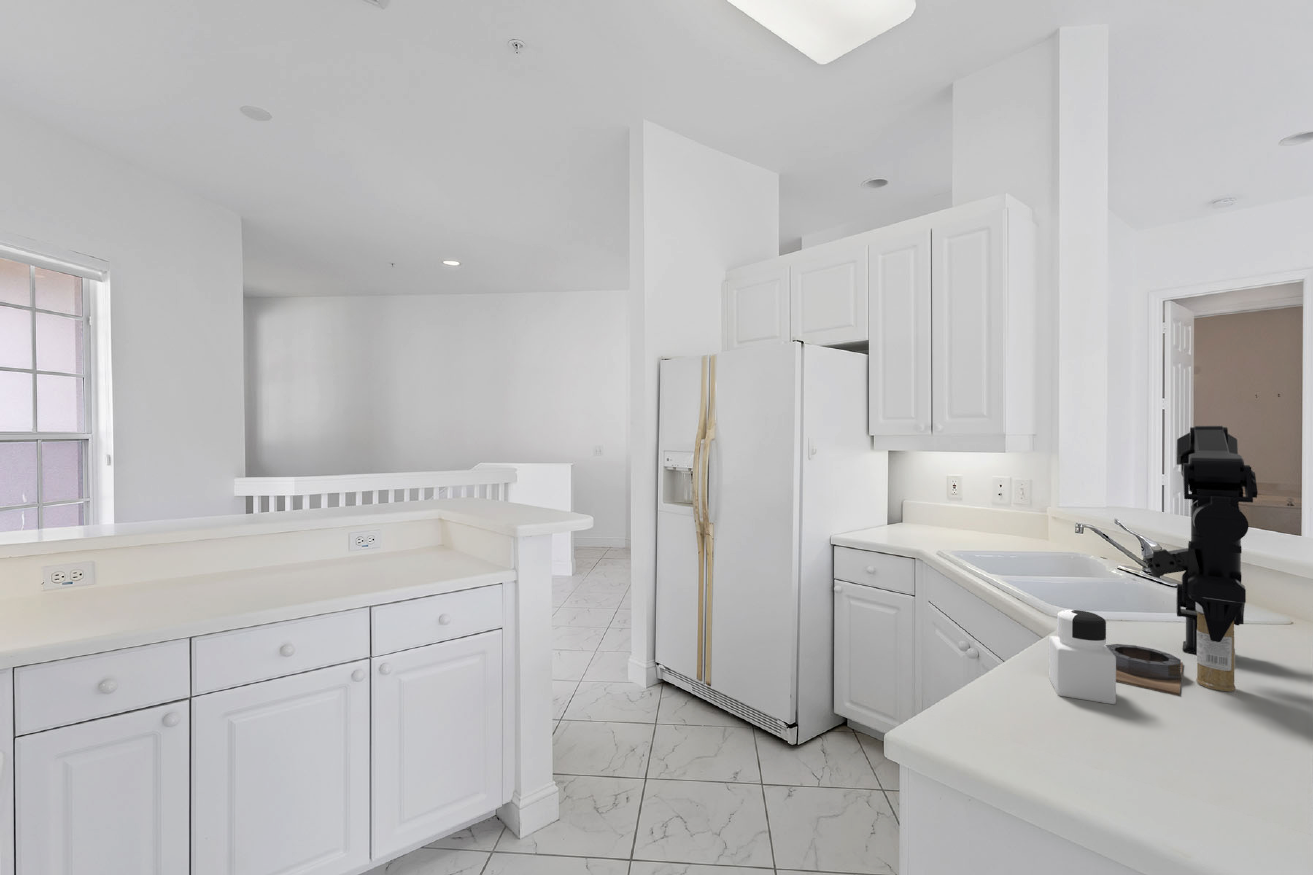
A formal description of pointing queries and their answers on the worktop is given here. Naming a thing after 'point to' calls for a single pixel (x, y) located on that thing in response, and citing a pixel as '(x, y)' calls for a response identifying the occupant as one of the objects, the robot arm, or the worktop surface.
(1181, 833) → the worktop surface
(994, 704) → the worktop surface
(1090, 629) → the medicine bottle
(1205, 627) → the sprinkles bottle
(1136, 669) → the iron collar
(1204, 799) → the worktop surface
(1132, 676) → the walnut board
